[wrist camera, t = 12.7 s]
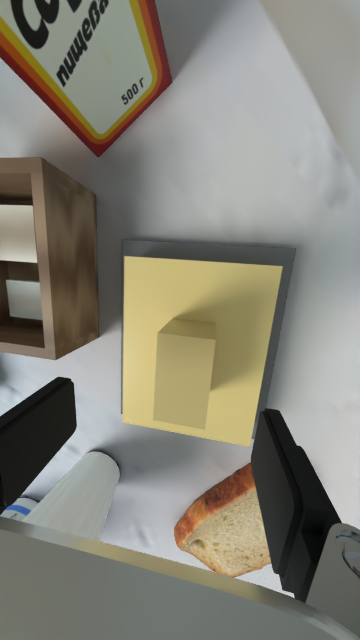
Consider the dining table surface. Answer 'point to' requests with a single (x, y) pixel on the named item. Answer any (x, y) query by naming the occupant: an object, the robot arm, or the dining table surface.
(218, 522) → the slice of bread
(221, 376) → the lid
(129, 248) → the mat
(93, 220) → the box
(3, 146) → the dining table surface
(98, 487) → the cup
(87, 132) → the baking soda box
